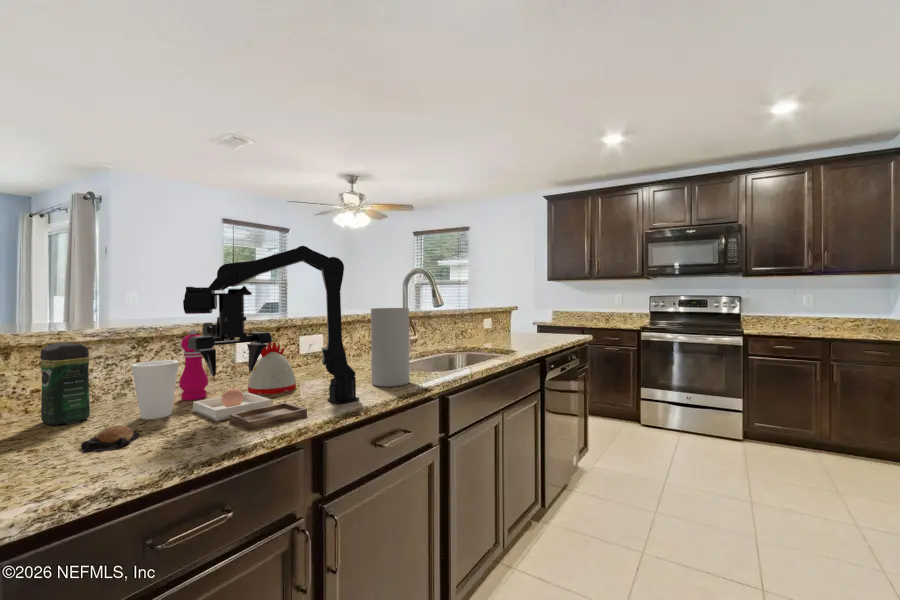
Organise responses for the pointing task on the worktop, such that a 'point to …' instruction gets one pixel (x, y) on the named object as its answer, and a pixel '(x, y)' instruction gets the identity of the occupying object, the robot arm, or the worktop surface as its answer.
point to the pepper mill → (192, 372)
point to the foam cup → (155, 387)
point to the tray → (267, 415)
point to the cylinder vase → (390, 346)
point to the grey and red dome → (271, 373)
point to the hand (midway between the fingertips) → (232, 373)
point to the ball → (232, 397)
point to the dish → (220, 412)
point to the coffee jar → (65, 383)
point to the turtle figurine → (110, 439)
